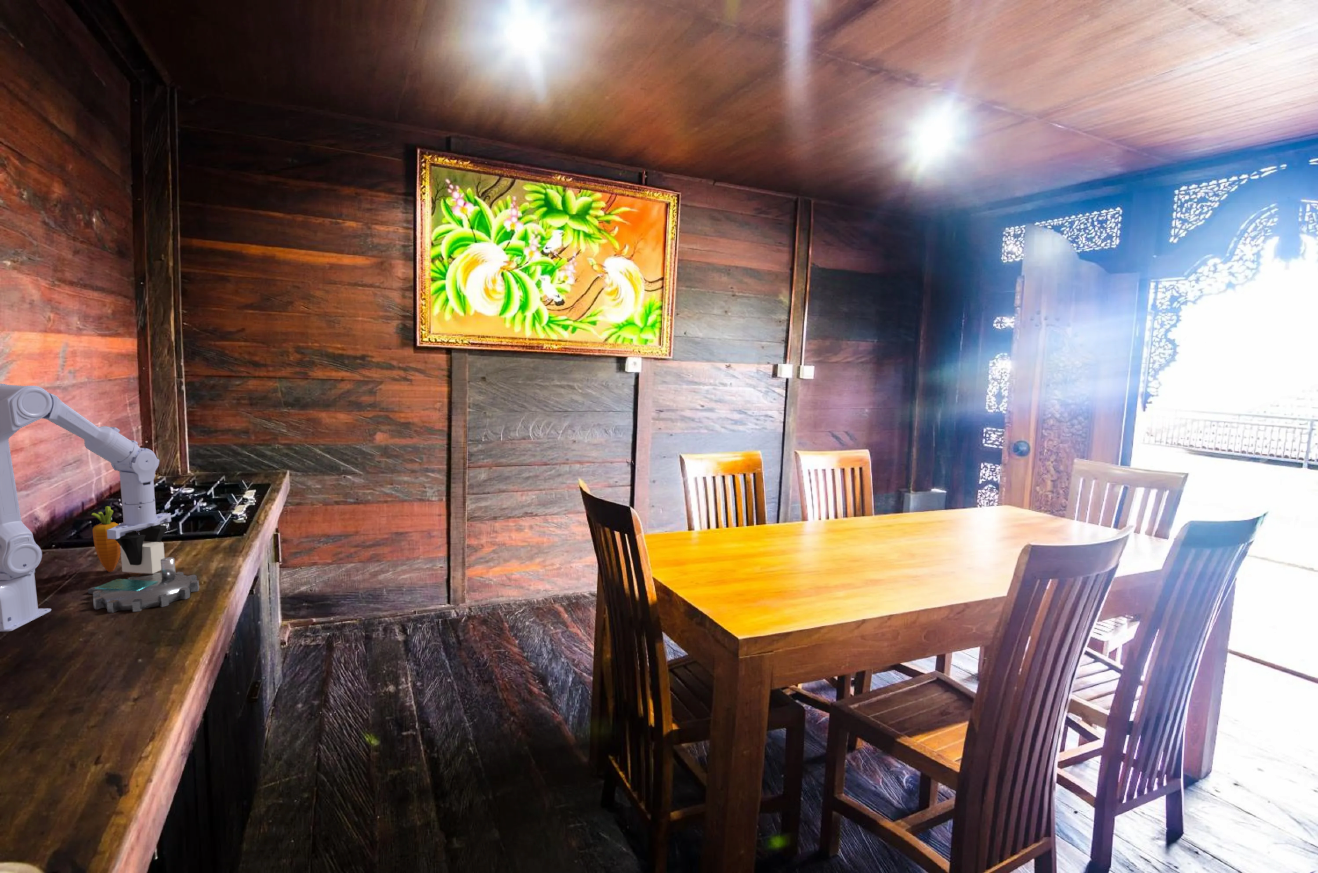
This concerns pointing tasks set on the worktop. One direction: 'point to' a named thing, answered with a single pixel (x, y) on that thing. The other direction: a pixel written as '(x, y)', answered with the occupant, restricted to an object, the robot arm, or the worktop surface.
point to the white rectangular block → (145, 558)
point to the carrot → (106, 541)
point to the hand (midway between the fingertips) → (143, 561)
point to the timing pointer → (91, 590)
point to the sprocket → (146, 590)
